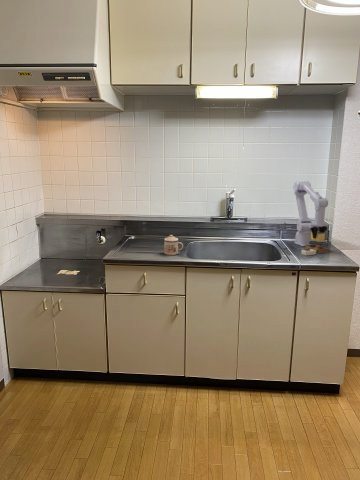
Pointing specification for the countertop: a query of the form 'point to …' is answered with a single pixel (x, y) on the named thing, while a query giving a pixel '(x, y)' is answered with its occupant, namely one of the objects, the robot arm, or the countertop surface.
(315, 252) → the bay
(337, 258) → the countertop surface
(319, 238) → the yellow rectangular block
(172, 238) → the teacup with lid
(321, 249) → the tray
